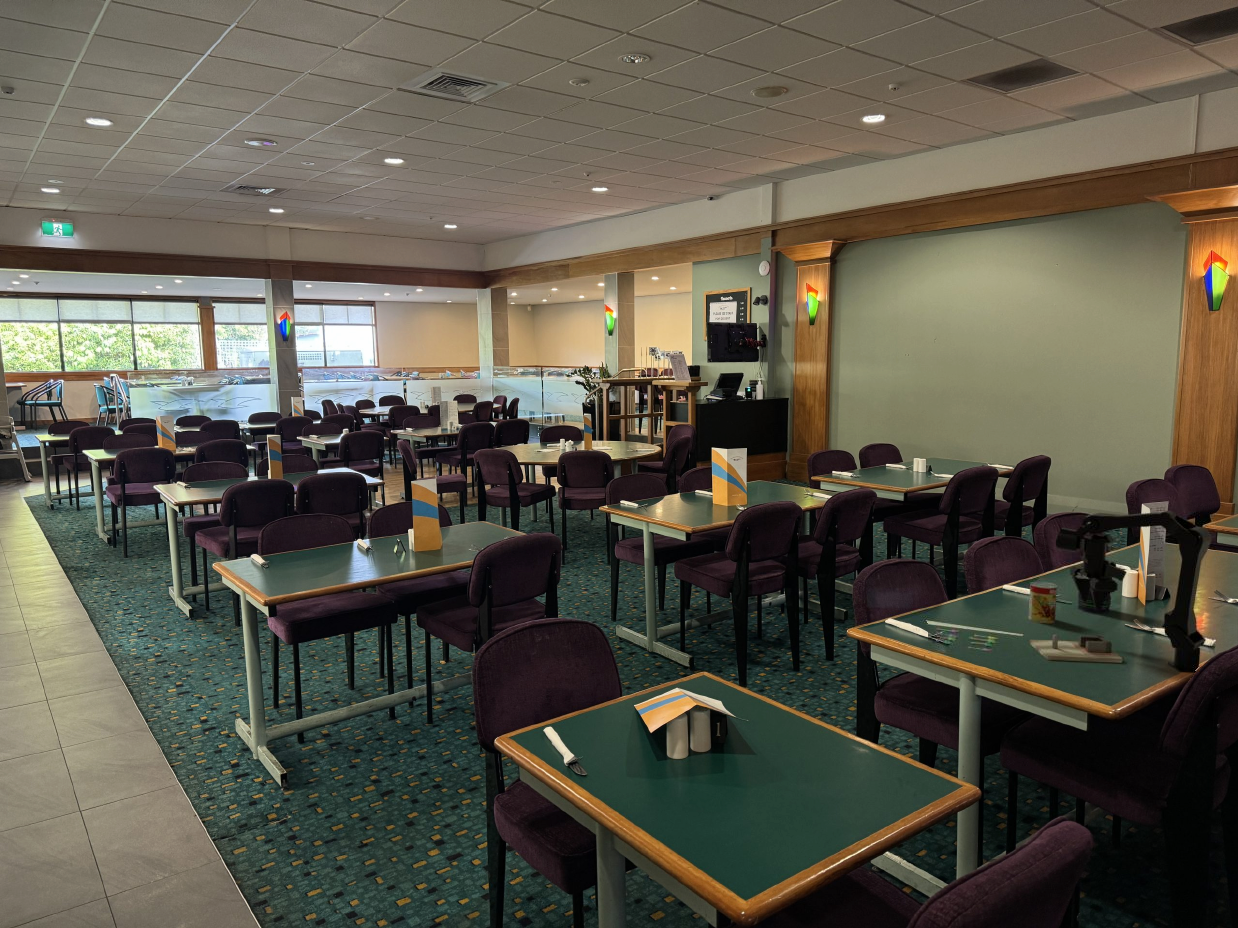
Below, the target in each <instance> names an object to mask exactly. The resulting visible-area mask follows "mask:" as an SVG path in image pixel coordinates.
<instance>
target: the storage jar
mask: <svg viewBox="0 0 1238 928" xmlns="http://www.w3.org/2000/svg"><path fill="white" fill-rule="evenodd" d="M1080 566H1083V564H1081V565H1080ZM1102 578H1104V577H1102ZM1109 578H1110V579H1112V580H1113V577H1111V576H1109ZM1090 588H1091V586H1090ZM1111 600H1112V596H1111V593H1110V594H1108V595H1107V597H1106V599H1105V601H1104V603H1103V605H1102V608H1101V610H1096V608H1095V605H1094V602H1093V598H1092V595H1091V591H1090V590H1089V595H1088V599H1087V602H1083V601H1082V598H1081V596H1080V593H1079V592H1078V595H1077V604H1078V605H1077V609H1078V610H1079V611H1082V612H1084V613H1088V614H1097V615H1106V614H1109V613H1110V611H1111V610H1110V608H1111V604H1112V601H1111Z"/></svg>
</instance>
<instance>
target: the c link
mask: <svg viewBox="0 0 1238 928" xmlns="http://www.w3.org/2000/svg"><path fill="white" fill-rule="evenodd" d="M1077 642H1078V645H1079V646H1080V647H1086V649H1085V651H1086V652H1089V653H1111V650H1112V648H1113V647H1112V646H1113V643H1112V642H1111V641H1110V640H1108V639H1106V638H1105V637H1104V636H1102V635H1084V634H1083V635H1078V641H1077Z"/></svg>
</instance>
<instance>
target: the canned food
mask: <svg viewBox="0 0 1238 928" xmlns="http://www.w3.org/2000/svg"><path fill="white" fill-rule="evenodd" d="M1029 587H1030V588H1029V603H1028V605H1029V606H1028V620H1030V621H1031V622H1035V623H1041V624H1053V623H1056V612H1057V611H1056V609H1057V607H1056V606H1057V593H1058V592H1057V589H1058V586H1057V585H1056V584H1055V583H1053V582H1047V581H1032V582H1030V584H1029Z"/></svg>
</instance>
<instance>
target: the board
mask: <svg viewBox="0 0 1238 928" xmlns="http://www.w3.org/2000/svg"><path fill="white" fill-rule="evenodd" d="M1029 644H1030V645H1031V646H1032V647H1033V648H1034V649H1035V650H1036V651H1037V652H1038V653H1040V654H1041V656H1043V657H1044V658H1045V659H1046V660H1047V661H1048V660H1049V661H1069V662H1070V661H1073V662H1074V661H1075V662H1095V663H1116V664H1117V663H1120V664H1122V663H1123V658H1122V657H1121V656H1119V654H1118V653H1116V652H1115V651H1114V650H1112V649H1111V653H1089V652H1086V651H1085V649H1086V647H1080V646H1079V645H1078V641H1077V640H1076V641H1075V640H1073V641H1072V640H1070V641H1069V640H1059V635H1057V634H1053V635H1052V640H1051V639H1050V640H1047V639H1030V640H1029Z"/></svg>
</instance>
